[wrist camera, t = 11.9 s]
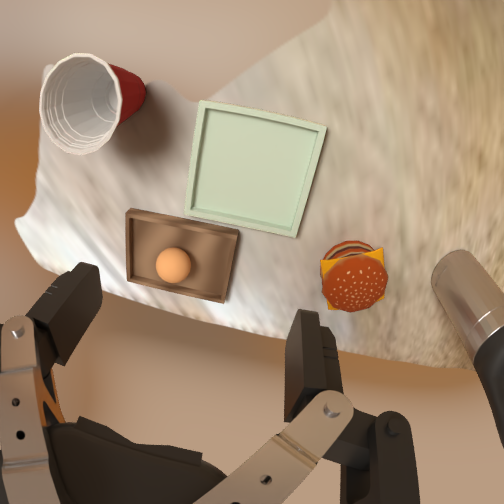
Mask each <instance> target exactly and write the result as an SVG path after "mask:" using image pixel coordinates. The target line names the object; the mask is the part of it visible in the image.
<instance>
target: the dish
mask: <svg viewBox="0 0 504 504" xmlns="http://www.w3.org/2000/svg"><path fill="white" fill-rule="evenodd" d="M326 129H327V126H326V125H323V124H320V123H316V122H312V121H308V120H305V119H301V118H296V117H292V116H288V115H284V114H279V113H275V112H270V111H266V110H261V109H256V108H251V107H245V106H240V105H234V104H229V103H223V102H216V101H210V100H200V101H199V107H198V113H197V119H196V125H195V132H194V138H193V145H192V152H191V159H190V166H189V173H188V181H187V189H186V198H185V206H184V215H189V216H194V217H199V218H204V219H209V220H214V221H219V222H223V223H228V224H233V225H238V226H243V227H247V228H252V229H257V230H261V231H266V232H271V233H275V234H280V235H284V236H289V237H293V238H296V235H297V231H298V228H299V225H300V221H301V218H302V215H303V211H304V208H305V204H306V201H307V198H308V194H309V191H310V187H311V184H312V180H313V177H314V173H315V169H316V166H317V162H318V159H319V155H320V151H321V148H322V144H323V140H324V137H325V133H326Z"/></svg>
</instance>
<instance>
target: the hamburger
mask: <svg viewBox="0 0 504 504" xmlns="http://www.w3.org/2000/svg"><path fill="white" fill-rule="evenodd" d="M320 262H321V269H320V275H321V278H322V285H323V288H322V293H323V295H324V296H325V297H326V299H327V304H328V310H339V309H340V310H343V311H347V312H355V311H359V310H363V309H367V308H369V307H371V306H372V305H373V304H374V303H375V302H377V301H380V300H382V299H384V294H385V288H386V284H387V280H388V274H387V273H386V271H385V269H384V257H383V247H382V248H380V249H377V250H374V249H373V248H372V247H371V246H370V245H368V244H365V243H363V242H360V241H345V242H343V243H340V244H338V245H335V246H334V247H333V248H332V249H330V250H329V251H328V252H327V253H326V255H325V257H324V259H323V260H320Z"/></svg>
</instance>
